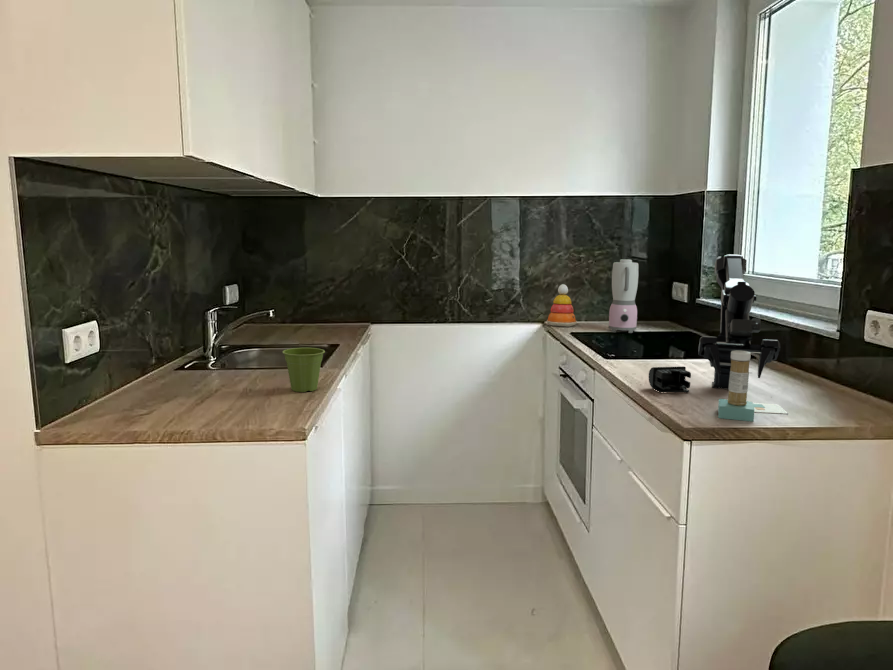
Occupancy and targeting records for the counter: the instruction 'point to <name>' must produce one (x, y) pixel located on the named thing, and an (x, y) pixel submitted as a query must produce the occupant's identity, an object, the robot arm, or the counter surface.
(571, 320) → the stacking toy
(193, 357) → the counter surface
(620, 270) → the blender
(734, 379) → the sprinkles bottle
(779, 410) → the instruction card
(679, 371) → the end cap
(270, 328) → the counter surface
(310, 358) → the plant pot
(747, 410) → the brick
